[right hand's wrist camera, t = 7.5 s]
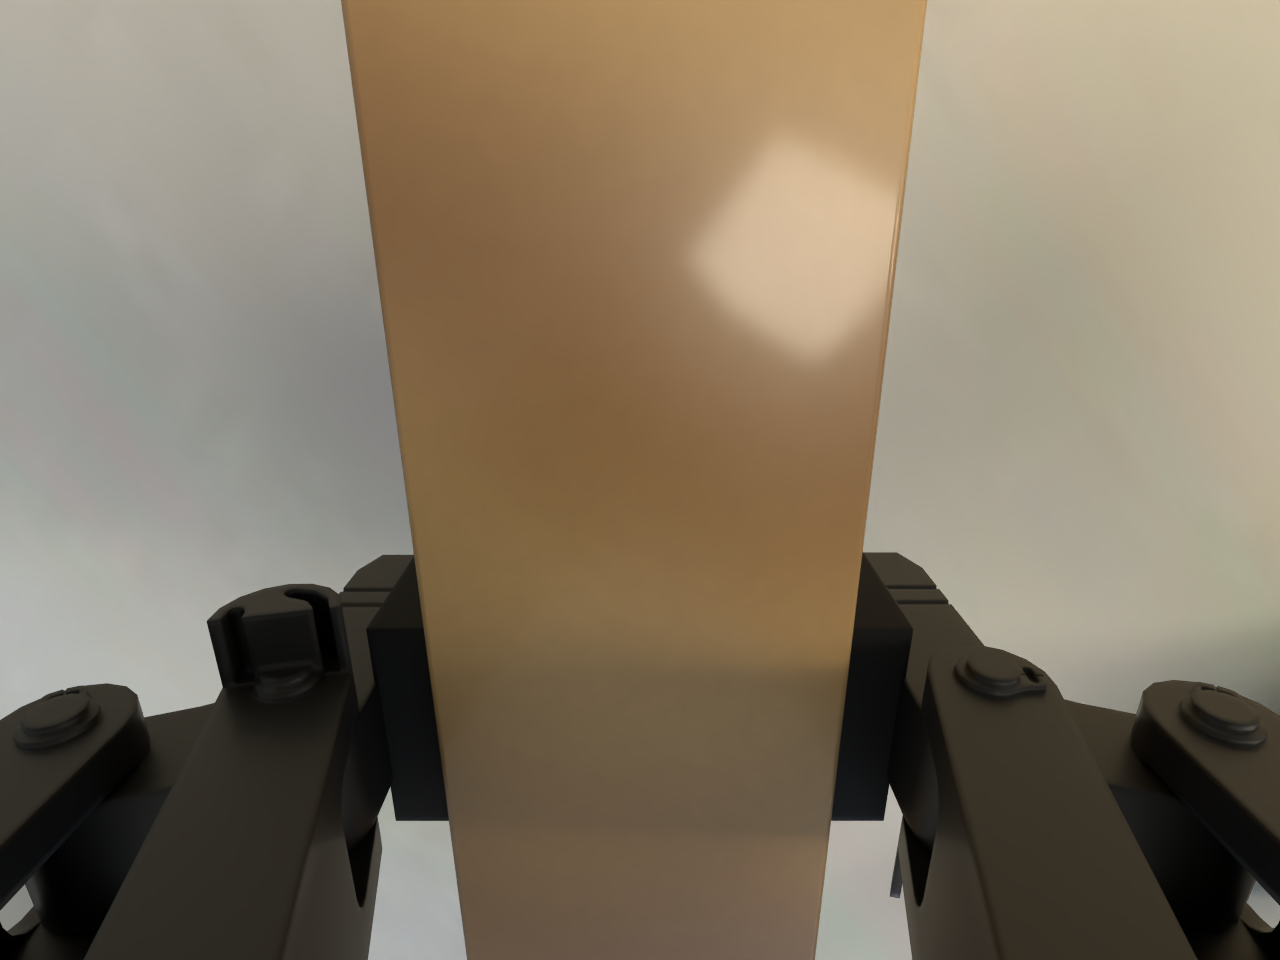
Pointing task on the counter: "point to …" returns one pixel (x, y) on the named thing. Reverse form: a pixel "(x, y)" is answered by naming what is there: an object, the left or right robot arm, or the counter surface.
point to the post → (637, 439)
